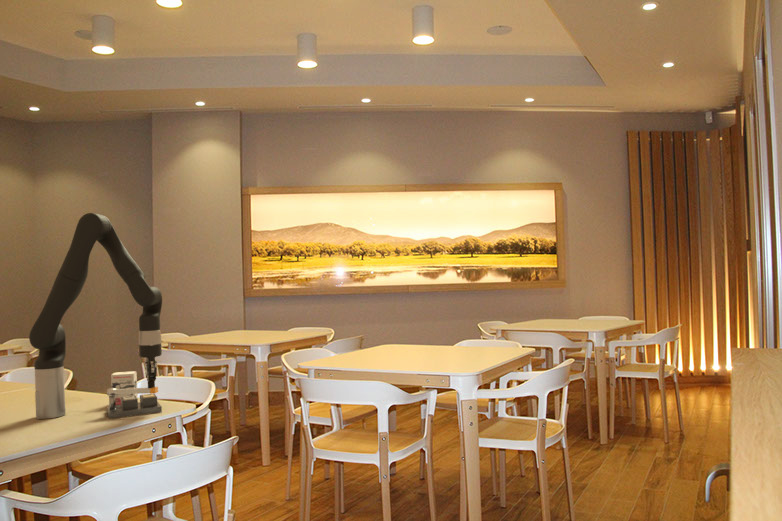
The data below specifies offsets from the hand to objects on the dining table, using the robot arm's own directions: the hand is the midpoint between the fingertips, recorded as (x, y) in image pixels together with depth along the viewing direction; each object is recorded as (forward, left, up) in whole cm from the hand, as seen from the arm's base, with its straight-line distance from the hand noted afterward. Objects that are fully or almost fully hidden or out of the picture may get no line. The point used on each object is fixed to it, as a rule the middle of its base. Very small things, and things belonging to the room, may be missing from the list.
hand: (151, 391), depth 238 cm
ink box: (-7, +24, -7) cm, 26 cm away
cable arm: (-6, 0, 0) cm, 6 cm away
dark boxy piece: (-6, +4, -7) cm, 10 cm away
